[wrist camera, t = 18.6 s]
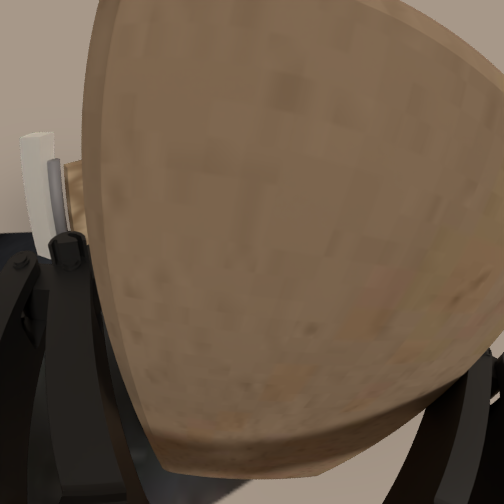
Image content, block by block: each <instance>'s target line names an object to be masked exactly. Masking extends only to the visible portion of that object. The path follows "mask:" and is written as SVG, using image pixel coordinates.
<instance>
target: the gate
mask: <svg viewBox="0 0 504 504" xmlns="http://www.w3.org/2000/svg"><path fill="white" fill-rule="evenodd" d="M64 177H65V189H66V198H67V207H68V214H69V222H70V228H71V231H77V232H80V233H82V234H83V235H85V238H86V242H87V245H88V244H89V241H88V233H87V225H86V217H85V207H84V195H83V180H82V160H79V161H75V162H71V163H68V164H64Z"/></svg>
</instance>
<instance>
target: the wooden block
mask: <svg viewBox="0 0 504 504" xmlns="http://www.w3.org/2000/svg"><path fill="white" fill-rule="evenodd" d="M82 180H83V195H84V207H85V217H86V225H87V233H88V241H89V247H90V254H91V260H92V265H93V271H94V276H95V281H96V286H97V291H98V295H99V299H100V304H101V308H102V312H103V316H104V320H105V324H106V327H107V331H108V334H109V338H110V341H111V345H112V348H113V351H114V354H115V357H116V361H117V364H118V367H119V369H120V372H121V375H122V378H123V381H124V384H125V386H126V389H127V392H128V394H129V397H130V399H131V402H132V404H133V407H134V409H135V412H136V414H137V416H138V419H139V421H140V423H141V425H142V428H143V430H144V432H145V434H146V436H147V438H148V440H149V442H150V445H151V447H152V449H153V451H154V453H155V455H156V456H157V458H158V460H159V462H160V464H161V466H162V468H163V469H165V470H166V471H168V472H173V473H180V474H187V475H194V476H203V477H214V478H229V479H287V478H301V477H311V476H317V475H320V474H322V473H324V472H326V471H328V470H330V469H332V468H334V467H336V466H338V465H340V464H342V463H344V462H345V461H347V460H349V459H351V458H353V457H354V456H356V455H358V454H359V453H361V452H363V451H365V450H366V449H368V448H370V447H371V446H373V445H375V444H376V443H378V442H379V441H381V440H382V439H384V438H385V437H387V436H388V435H390V434H391V433H393V432H394V431H396V430H397V429H399V428H400V427H401V426H403V425H404V424H406V423H407V422H408V421H410V420H411V419H412V418H414V417H415V416H416V415H418V414H419V413H420V412H421V411H423V410H424V409H425V408H426V407H428V406H429V405H430V404H431V403H433V402H434V401H435V400H436V399H437V398H438V397H440V396H441V395H442V394H443V393H444V392H445V391H446V390H448V389H449V388H450V387H451V386H452V385H453V384H454V383H455V382H456V381H457V380H458V379H459V378H460V377H461V376H462V375H463V374H464V373H465V372H466V371H467V370H468V369H469V368H470V367H471V366H472V365H473V364H474V363H475V362H476V361H477V360H478V359H479V358H480V357H481V356H482V355H483V354H484V352H485V351H486V350H487V349H488V348H489V347H490V346H491V344H492V343H493V342H494V341H495V340H496V338H497V337H498V336H499V335H500V334H501V333H502V331H503V330H504V74H503V73H501V71H500V70H498V69H497V68H496V67H495V66H494V65H493V64H492V63H491V62H490V61H488V60H487V59H486V58H485V57H484V56H483V55H481V54H480V53H479V52H478V51H477V50H475V49H474V48H473V47H472V46H470V45H469V44H467V43H466V42H465V41H464V40H462V39H461V38H460V37H458V36H457V35H455V34H454V33H453V32H451V31H450V30H448V29H447V28H445V27H444V26H443V25H441V24H439V23H438V22H436V21H435V20H433V19H432V18H430V17H428V16H427V15H425V14H423V13H422V12H420V11H418V10H416V9H415V8H413V7H411V6H409V5H407V4H406V3H404V2H401V1H400V0H99V4H98V8H97V12H96V16H95V21H94V25H93V30H92V35H91V40H90V46H89V52H88V59H87V66H86V74H85V83H84V94H83V109H82Z"/></svg>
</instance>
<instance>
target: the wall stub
mask: <svg viewBox="0 0 504 504" xmlns="http://www.w3.org/2000/svg"><path fill="white" fill-rule="evenodd" d="M20 154H21V166H22V175H23V183H24V191H25V197H26V203H27V209H28V214H29V220H30V225H31V229H32V234H33V238H34V242H35V246H36V250H37V254H38V255H40V256H42V257H45V258H48V259H51V256H50V252H49V248H48V243H49V242H50V240H51V239H52V238H53V237H54V236H56V235H58V234H60V233H63V232H67V231H68V230H67V223H66V217H65V209H64V202H63V193H62V183H61V170H60V159H55V156H54V132H34V133H31V134H28V135H25V136H23V137H20Z"/></svg>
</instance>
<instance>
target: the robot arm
mask: <svg viewBox="0 0 504 504" xmlns="http://www.w3.org/2000/svg"><path fill="white" fill-rule="evenodd" d="M48 248H49V252H50V256H51V260H52V264H39V263H38V260H37V256H36V254H35V253H34V252H31V251H21V252H18V253H16V254H15V255H13V256H12V257H11V258H10V259H9V260H8V261H7V263H6V265H5V266H4V268H3V269H2V271H1V273H0V504H27V458H28V443H29V433H30V424H31V416H32V410H33V403H34V397H35V392H36V387H37V382H38V377H39V372H40V368H41V364H42V360H43V356H44V352H45V372H46V395H47V407H48V417H49V426H50V433H51V440H52V446H53V451H54V457H55V462H56V466H57V471H58V475H59V479H60V483H61V488H62V498H61V500H60V502H59V504H150V503H149V502H148V500H147V498H146V496H145V493H144V491H143V488H142V486H141V483H140V480H139V478H138V475H137V472H136V470H135V467H134V464H133V461H132V458H131V455H130V452H129V448H128V445H127V442H126V438H125V435H124V432H123V428H122V424H121V420H120V416H119V412H118V408H117V404H116V400H115V395H114V391H113V386H112V381H111V375H110V370H109V364H108V358H107V352H106V345H105V337H104V329H103V320H102V315H101V310H102V308H101V304H100V299H99V295H98V291H97V286H96V281H95V276H94V271H93V265H92V260H91V254H90V247H89V244H88V245H87V242H86V238H85V235H83V234H82V233H80V232H77V231H67V232H63V233H60V234H58V235H56V236H54V237H53V238H52V239H51V240H50V242H49V243H48ZM499 391H500V398H499V399H498V400H496V401H495V402H494V403H493V404H491V405H490V399H491V398H493V397H494V396H495V395H496V394H497V393H498V392H499ZM382 504H504V352H503V354H502V355H501V356H500V357H499V358H498V359H497V358H495V357H493V356H492V352H491V350H490V348H488V349H487V350H486V351H485V352H484V354H483V355H482V356H481V357H480V358H479V359H478V360H477V361H476V362H475V363H474V364H473V365H472V366H471V367H470V368H469V369H468V370H467V371H466V372H465V373H464V374H463V375H462V376H461V377H460V378H459V379H458V380H457V381H456V382H455V383H454V384H453V385H452V386H451V387H450V388H449V389H448V390H446V391H445V392H444V393H443V394H442V395H441V396H440V397H438V398H437V399H436V400H435V401H434V402H433V403H431V404H430V405H429V406H428V407H426V409H425V412H424V415H423V418H422V421H421V423H420V426H419V429H418V431H417V434H416V436H415V439H414V441H413V444H412V446H411V448H410V451H409V453H408V455H407V457H406V460H405V462H404V464H403V466H402V468H401V470H400V472H399V474H398V476H397V478H396V480H395V482H394V484H393V486H392V487H391V489H390V491H389V493H388V495H387V496H386V498H385V500H384V502H383V503H382Z"/></svg>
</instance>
